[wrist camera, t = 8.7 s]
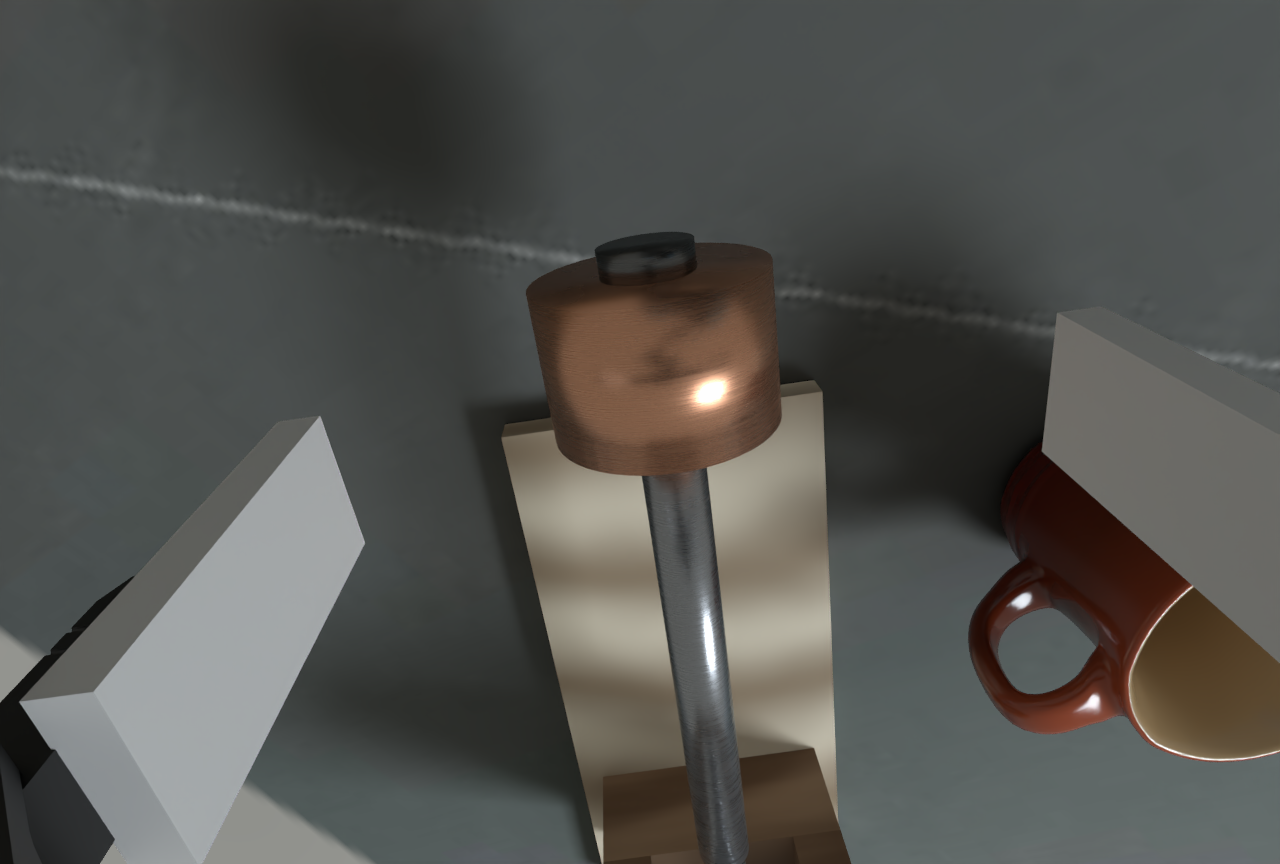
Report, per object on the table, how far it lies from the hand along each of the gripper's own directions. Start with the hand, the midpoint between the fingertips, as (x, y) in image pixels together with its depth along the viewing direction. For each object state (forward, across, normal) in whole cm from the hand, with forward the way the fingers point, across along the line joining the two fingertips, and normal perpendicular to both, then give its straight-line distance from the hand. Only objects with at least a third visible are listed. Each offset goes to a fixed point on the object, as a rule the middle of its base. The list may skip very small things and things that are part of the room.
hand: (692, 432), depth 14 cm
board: (+14, 0, -19) cm, 23 cm away
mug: (+15, +15, -13) cm, 24 cm away
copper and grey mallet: (+9, 0, -10) cm, 13 cm away
